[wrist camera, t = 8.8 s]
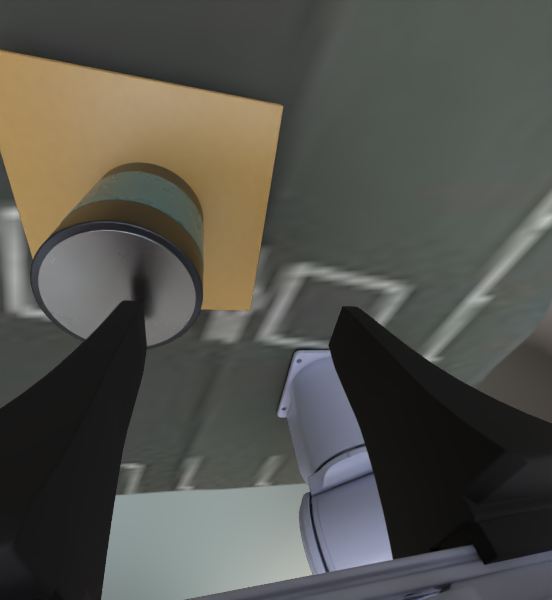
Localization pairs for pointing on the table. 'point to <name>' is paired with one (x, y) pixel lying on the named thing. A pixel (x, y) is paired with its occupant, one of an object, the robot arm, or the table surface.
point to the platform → (140, 154)
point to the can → (126, 255)
